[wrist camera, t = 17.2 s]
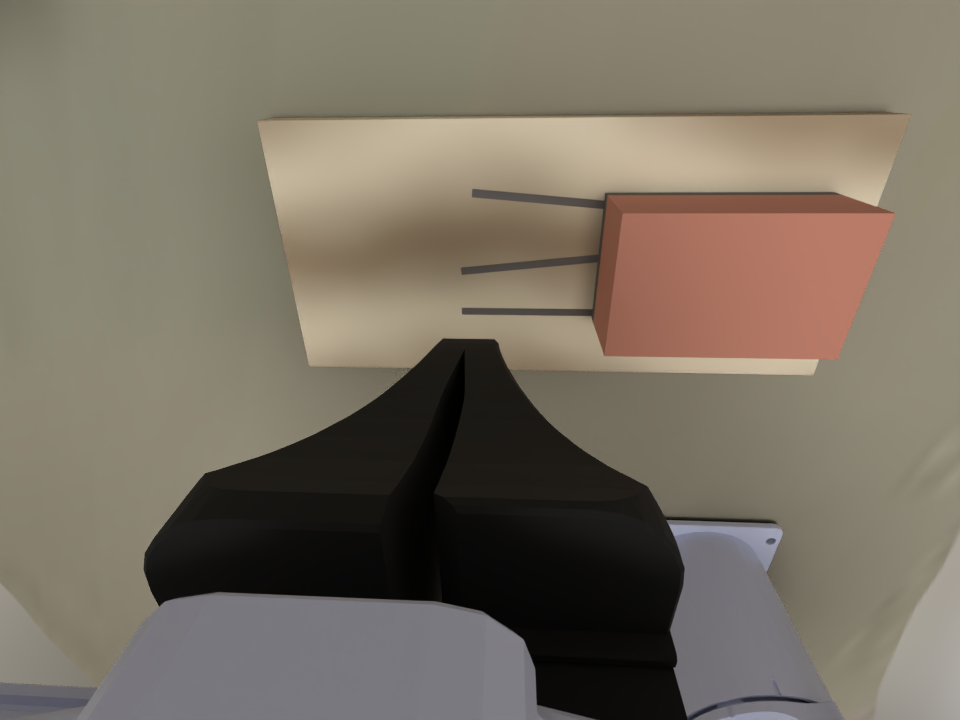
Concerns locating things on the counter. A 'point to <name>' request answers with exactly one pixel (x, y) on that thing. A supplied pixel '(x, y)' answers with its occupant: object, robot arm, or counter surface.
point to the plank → (519, 220)
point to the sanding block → (733, 273)
